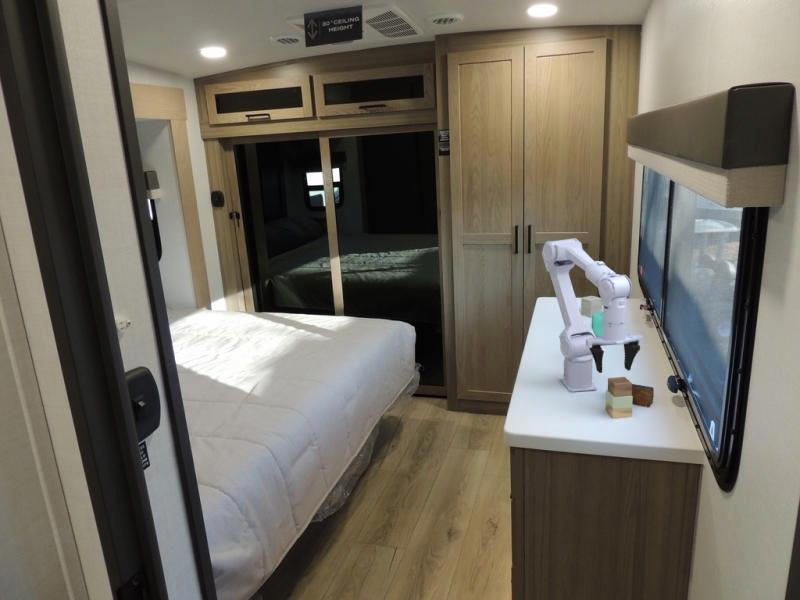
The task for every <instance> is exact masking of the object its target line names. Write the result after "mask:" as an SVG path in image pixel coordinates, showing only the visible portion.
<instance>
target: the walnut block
mask: <svg viewBox="0 0 800 600" xmlns="http://www.w3.org/2000/svg"><path fill="white" fill-rule="evenodd" d="M632 384H633V382H631V381H630V379H628V378H627V377H626V376H618V377H608V378H607V390H608V391H609V392H610V393H611V394H612V395H613V396H614V397H625V396H632Z"/></svg>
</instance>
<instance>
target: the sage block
mask: <svg viewBox="0 0 800 600" xmlns="http://www.w3.org/2000/svg"><path fill="white" fill-rule="evenodd" d="M632 400H633V396H625V397H614V396H613V395H612V394H611V393H610V392H609V391H608V389H606V392H605V402H606V401H607V402H608V403H609V405H610V406H611V407H612V408H613V409H614V408H629V407H632V408H633V404H632Z"/></svg>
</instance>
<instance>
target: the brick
mask: <svg viewBox="0 0 800 600" xmlns="http://www.w3.org/2000/svg"><path fill="white" fill-rule="evenodd" d="M654 388H655V387H653V386H648V385H642V384H635V383H632V396H633V400H632V405H635V404H636V406H640V405H641V406H640V407H645V406H647V407H646V408H650V407H651V406H652V405H653V403H654V398H655V395H654V390H655V389H654Z"/></svg>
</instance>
